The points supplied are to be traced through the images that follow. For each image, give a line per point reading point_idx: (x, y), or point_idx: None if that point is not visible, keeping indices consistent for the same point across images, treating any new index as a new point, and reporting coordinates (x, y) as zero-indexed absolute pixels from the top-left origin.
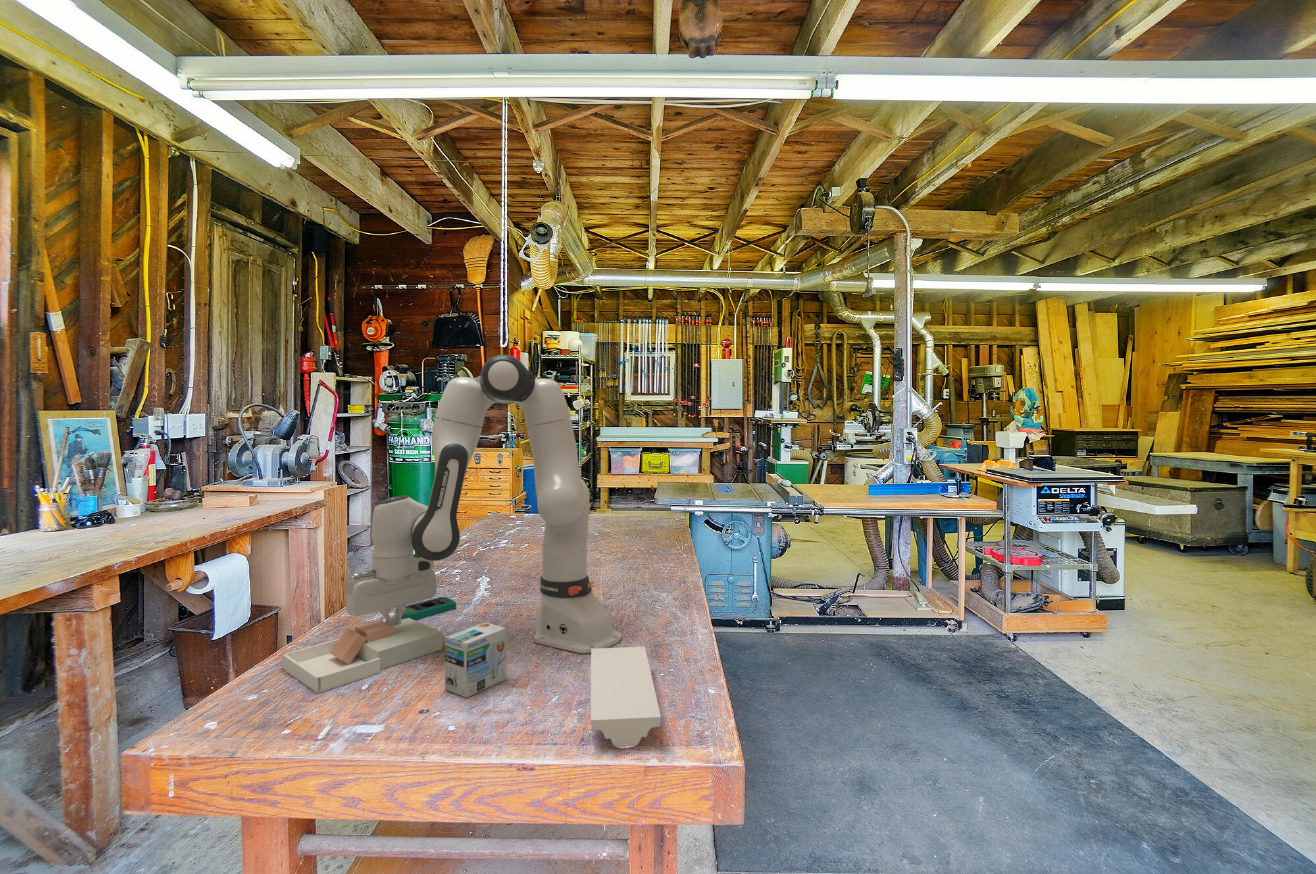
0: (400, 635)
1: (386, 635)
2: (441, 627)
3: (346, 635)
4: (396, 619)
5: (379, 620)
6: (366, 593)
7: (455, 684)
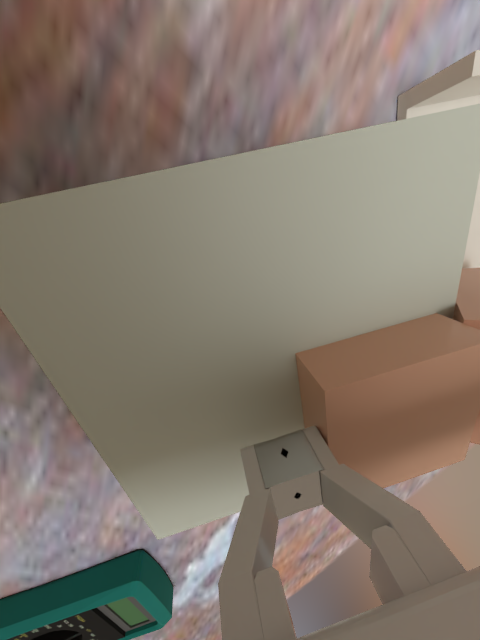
0: (267, 329)
1: (343, 346)
2: (24, 484)
3: None
4: (282, 471)
5: None
6: None
7: None
